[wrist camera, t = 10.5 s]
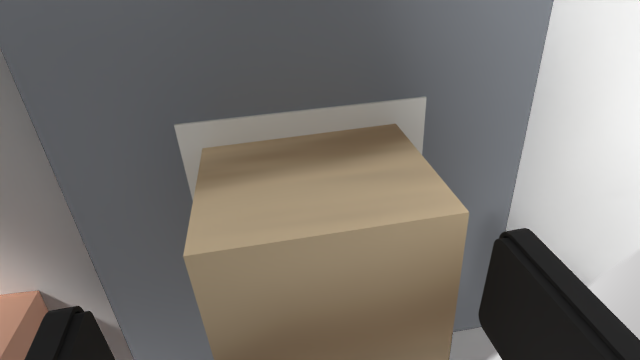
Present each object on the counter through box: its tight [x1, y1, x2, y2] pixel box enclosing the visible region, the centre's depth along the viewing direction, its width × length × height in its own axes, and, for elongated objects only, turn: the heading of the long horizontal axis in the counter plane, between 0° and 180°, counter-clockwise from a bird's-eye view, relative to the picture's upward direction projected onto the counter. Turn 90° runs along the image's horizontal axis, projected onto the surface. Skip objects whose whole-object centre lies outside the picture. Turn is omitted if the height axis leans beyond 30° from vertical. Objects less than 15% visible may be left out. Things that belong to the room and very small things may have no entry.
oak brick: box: [183, 124, 469, 360], centre depth 12 cm, size 6×6×5 cm
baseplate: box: [0, 0, 554, 360], centre depth 15 cm, size 15×15×1 cm
